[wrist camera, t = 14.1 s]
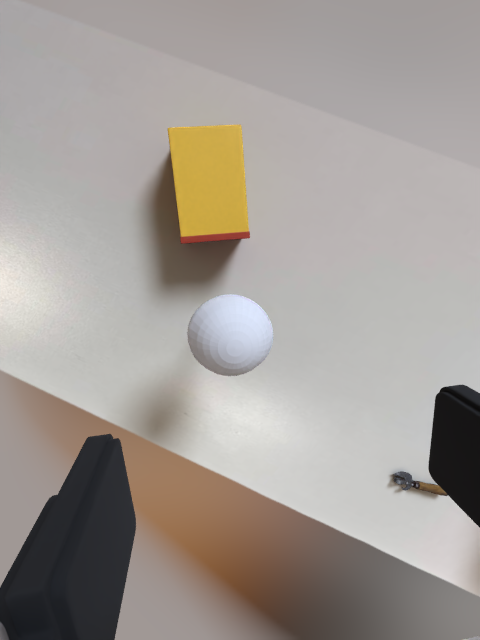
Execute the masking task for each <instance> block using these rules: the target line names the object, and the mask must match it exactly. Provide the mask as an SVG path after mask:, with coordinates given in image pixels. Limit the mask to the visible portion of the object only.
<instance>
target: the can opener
mask: <svg viewBox="0 0 480 640" xmlns="http://www.w3.org/2000/svg"><path fill="white" fill-rule="evenodd" d="M393 475H396V476H400V477H405V478H404V480H403V479H401V478H398V477H395V478H394V482H396V483H397V484H405V485H406V488H403V487H402V489H403V490H408V489H410V488H411V486H412V487H414V488H416V489H419V490H424V491H428V492H431V493H434V494H438V495H444V496H448V494H447V493H446V492H445V491H444V490H443V489H442V488H441V487H440V486H438V485H434V484H427V483H423V482H419V481H413V480H412V476H411V475H410V474H409V473H406V472H398V473H395V474H393Z"/></svg>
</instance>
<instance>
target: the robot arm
mask: <svg viewBox="0 0 480 640" xmlns="http://www.w3.org/2000/svg"><path fill="white" fill-rule="evenodd" d="M429 472H430V475H431V477H432V478H433V480H434V481H435V482H436V483H437V484H438V485H439V486H440V487H441V488H442V489H443V490H444V491H445V492H446V493H447V494H448V495H449V496H450V497H451V498H452V500H453V501H454V502H455V503H456V504H457V505H458V506H459V507H460V508H461V509H462V510H463V511H464V512H465V513H466V514H467V515H468V516H469V517H470V518H471V519H472V520H473V521H474V522H475V523H476V524H477V525H478V526H479V527H480V393H478V392H476V391H474V390H473V389H471V388H469V387H467V386H465V385H456V386H449V387H443V388H442V389H441V390H440V392H439V393H438V394H437V395H436V399H435V409H434V418H433V428H432V438H431V448H430V457H429ZM135 530H136V518H135V512H134V507H133V503H132V497H131V492H130V487H129V482H128V477H127V472H126V467H125V462H124V457H123V452H122V447H121V442H120V440H119V439H118V438H117V439H113V437H112V435H111V434H107V435H100V436H92V437H88V438H87V439H86V441H85V443H84V445H83V447H82V449H81V451H80V453H79V455H78V457H77V459H76V460H75V462H74V464H73V466H72V468H71V470H70V472H69V474H68V476H67V478H66V480H65V482H64V484H63V485H62V487H61V490H60V491H59V493H58V495H54V496H52V497H51V498H49V500H48V501H47V503H46V504H45V506H44V508H43V510H42V512H41V513H40V516H39V517H38V519H37V521H36V523H35V524H34V526H33V528H32V530H31V532H30V534H29V536H28V537H27V539H26V541H25V543H24V545H23V546H22V548H21V550H20V552H19V554H18V556H17V558H16V559H15V561H14V563H13V565H12V567H11V569H10V571H9V572H8V574H7V576H6V578H5V580H4V582H3V583H2V585H1V587H0V640H114V639H115V634H116V628H117V623H118V618H119V613H120V608H121V603H122V598H123V593H124V587H125V582H126V577H127V572H128V567H129V562H130V557H131V551H132V546H133V541H134V536H135ZM463 640H480V636H476V637H472V638H467V639H463Z"/></svg>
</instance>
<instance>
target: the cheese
mask: <svg viewBox="0 0 480 640" xmlns="http://www.w3.org/2000/svg"><path fill="white" fill-rule="evenodd" d="M168 135H169V144H170V152H171V160H172V169H173V177H174V185H175V193H176V202H177V210H178V218H179V226H180V235H181V237H180V240H181V244H184V243H196V242H208V241H221V240H233V239H245V238H250V232H249V228H248V214H247V199H246V185H245V170H244V156H243V142H242V127H241V125H219V126H197V127H175V128H168Z"/></svg>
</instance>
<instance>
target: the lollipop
mask: <svg viewBox="0 0 480 640" xmlns="http://www.w3.org/2000/svg"><path fill="white" fill-rule="evenodd" d="M188 342H189V345H190V349H191V351H192V353H193V355H194V357H195V358H196V359H197V360H198V362H199V363H200V364H201V365H203V366H204V367H205V368H207V369H208V370H210V371H212V372H214V373H216V374H220V375H225V376H237V375H241V374H244V373H247V372H249V371H251V370H252V369H254V368H255V367H257V366H258V365H259V364H260V363H261V362H262V361H263V360H264V359H265V358H266V356H267V355H268V354H269V351H270V349H271V347H272V342H273V329H272V325H271V322H270V320H269V318H268V316H267V314H266V313H265V311H264V310H263V309H262V308H261V307H260V306H259V305H258V304H257V303H255V302H254V301H252V300H250V299H248V298H246V297H243V296H240V295H234V294H228V295H221V296H217V297H215V298H213V299H210V300H208V301H207V302H205V303H204V304H202V305H201V306H200V307H199V308H198V309H197V310H196V311H195V313H194V314H193V316H192V318H191V320H190V323H189V326H188Z"/></svg>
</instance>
